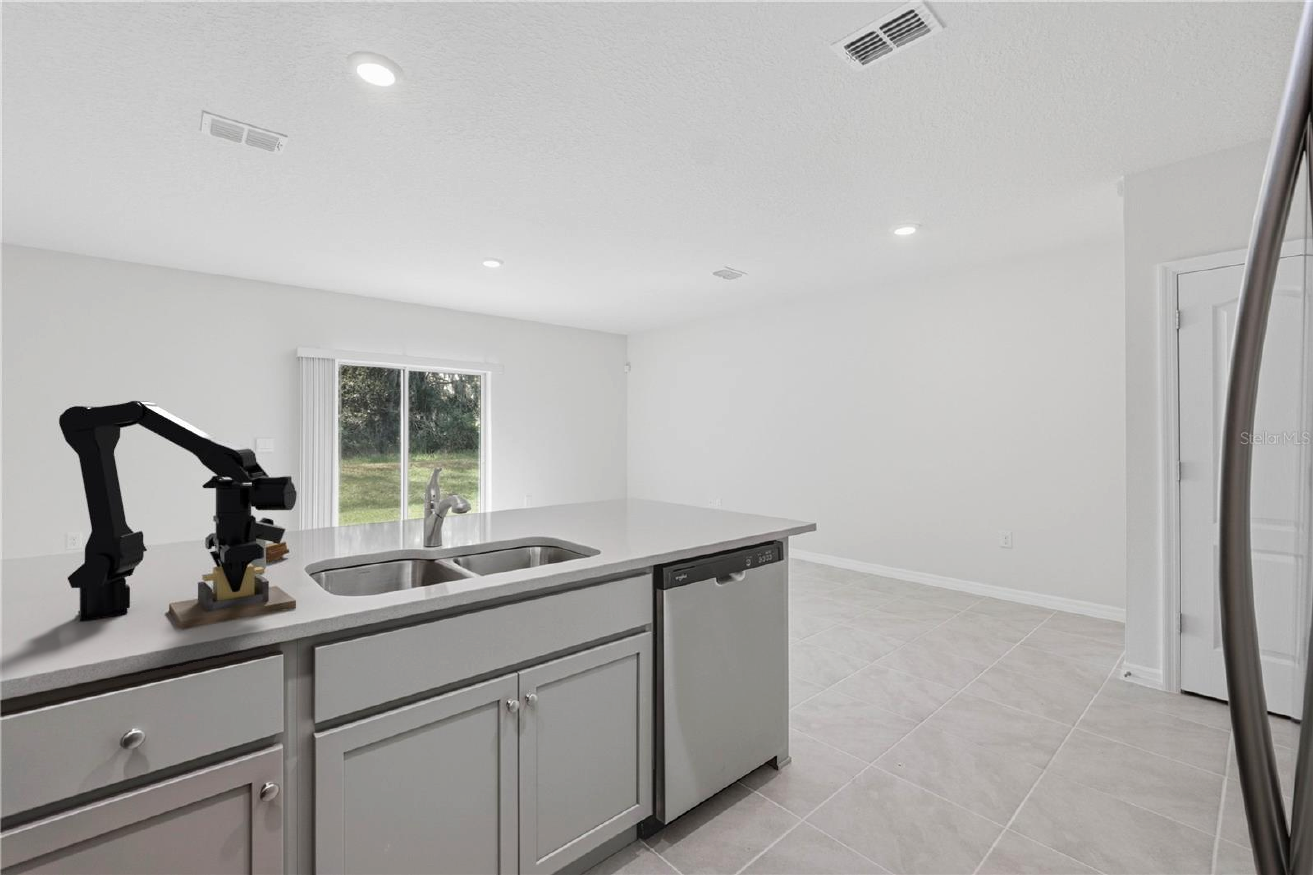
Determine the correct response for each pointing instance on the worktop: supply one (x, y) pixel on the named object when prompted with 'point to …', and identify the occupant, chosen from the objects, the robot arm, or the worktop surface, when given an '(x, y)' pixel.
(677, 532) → the worktop surface
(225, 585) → the block
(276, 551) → the toy sandwich meal
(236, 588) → the robot arm
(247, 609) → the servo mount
